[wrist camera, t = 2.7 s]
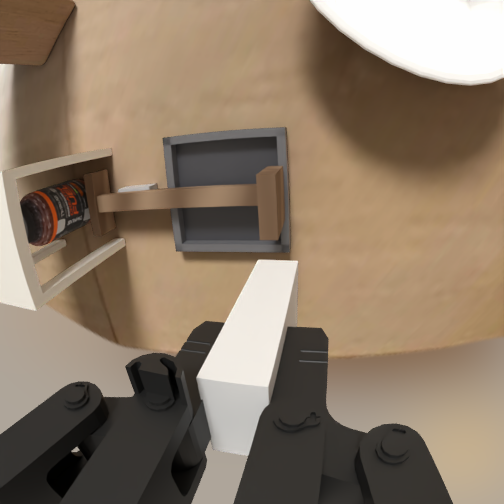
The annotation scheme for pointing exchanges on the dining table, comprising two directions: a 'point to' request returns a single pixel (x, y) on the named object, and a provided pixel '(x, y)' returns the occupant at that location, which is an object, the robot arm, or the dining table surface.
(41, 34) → the wooden block
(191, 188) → the wooden dumbbell-shaped bar
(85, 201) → the supplement bottle
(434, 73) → the bowl
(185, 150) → the grey shallow square tray
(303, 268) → the dining table surface
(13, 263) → the tunnel
